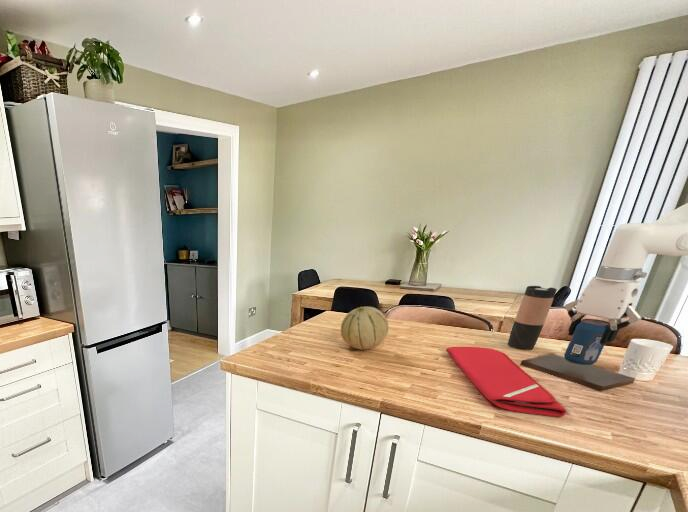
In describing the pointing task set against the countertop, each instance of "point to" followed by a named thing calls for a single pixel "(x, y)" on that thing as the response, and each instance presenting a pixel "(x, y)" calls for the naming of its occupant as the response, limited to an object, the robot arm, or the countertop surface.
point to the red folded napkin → (504, 381)
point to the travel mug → (531, 317)
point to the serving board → (578, 372)
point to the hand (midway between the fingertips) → (588, 338)
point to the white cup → (644, 358)
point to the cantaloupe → (364, 328)
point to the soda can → (586, 342)
